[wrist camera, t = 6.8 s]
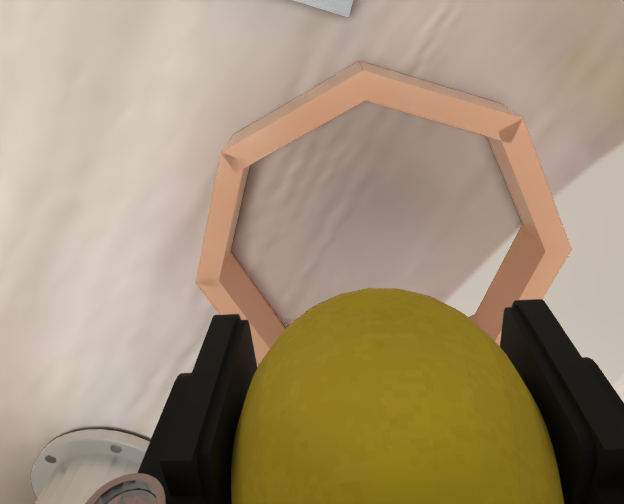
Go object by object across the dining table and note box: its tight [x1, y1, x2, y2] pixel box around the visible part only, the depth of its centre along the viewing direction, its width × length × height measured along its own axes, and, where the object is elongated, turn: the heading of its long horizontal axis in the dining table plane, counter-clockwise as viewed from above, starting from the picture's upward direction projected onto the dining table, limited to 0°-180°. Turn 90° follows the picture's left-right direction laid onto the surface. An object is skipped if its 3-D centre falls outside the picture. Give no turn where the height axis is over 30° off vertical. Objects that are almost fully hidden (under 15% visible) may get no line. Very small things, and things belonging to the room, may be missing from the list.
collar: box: [196, 61, 572, 364], centre depth 28 cm, size 18×18×4 cm
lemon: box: [231, 289, 564, 504], centre depth 9 cm, size 6×6×8 cm
